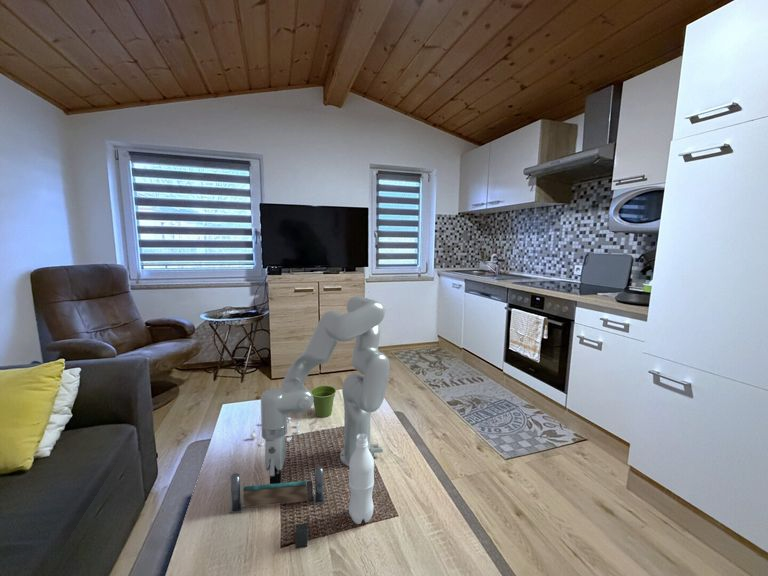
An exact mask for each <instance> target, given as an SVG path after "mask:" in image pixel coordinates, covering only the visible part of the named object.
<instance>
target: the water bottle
mask: <svg viewBox="0 0 768 576" xmlns="http://www.w3.org/2000/svg"><path fill="white" fill-rule="evenodd" d="M348 467H349V471H348V472H349V478H348V479H349V480H348V487H349V490H350V498H349V504H348V513H349V514H348V515H349V517H350V518H351V519H352V521H353V523H355V524H357V525H360V524H362V521H363V522H364V523H365V524H366V523H368V522H370V520H371V519H372V517H373V514H374V507H375V505H374V502H373V491H374V486H375V478H374V477H375V475H374V474H375V461H374V459H373V457H372V455H371V453H370V451H369V449H368V441H367V435H366V434H358V435H357V441H356V449H355V451H354V453H353V454H352V456H351V458H350V462H349V466H348Z"/></svg>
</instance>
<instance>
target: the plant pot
mask: <svg viewBox="0 0 768 576" xmlns="http://www.w3.org/2000/svg"><path fill="white" fill-rule="evenodd" d="M309 391H310V392H311V393H312V395H313V398H314V402H313V406H314V412H315V415H316V416H317V417H319V418H327V417H328V416H331V415H332V412H333V406H334V399H335V396H336V393H337V389H336V387H334V386H332V385H326V384H325V385H318V386H315V387H313V388H312V389H311V390H309Z"/></svg>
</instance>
